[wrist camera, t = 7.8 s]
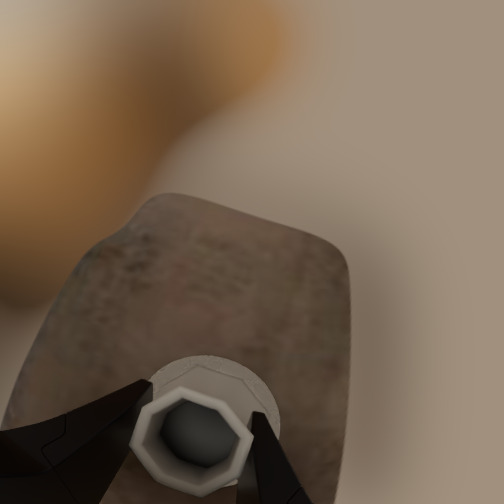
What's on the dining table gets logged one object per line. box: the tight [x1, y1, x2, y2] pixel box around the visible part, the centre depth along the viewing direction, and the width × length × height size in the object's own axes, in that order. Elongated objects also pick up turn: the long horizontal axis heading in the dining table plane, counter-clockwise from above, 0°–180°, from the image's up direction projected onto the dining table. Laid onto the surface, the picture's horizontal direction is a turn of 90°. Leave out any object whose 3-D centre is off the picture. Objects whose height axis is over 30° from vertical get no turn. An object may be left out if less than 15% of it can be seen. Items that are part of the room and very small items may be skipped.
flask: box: [129, 364, 271, 498], centre depth 10 cm, size 7×7×10 cm
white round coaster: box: [148, 355, 280, 487], centre depth 15 cm, size 9×9×2 cm
